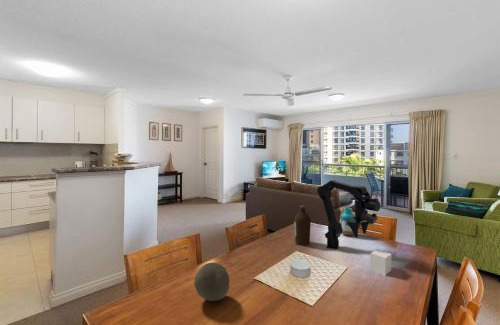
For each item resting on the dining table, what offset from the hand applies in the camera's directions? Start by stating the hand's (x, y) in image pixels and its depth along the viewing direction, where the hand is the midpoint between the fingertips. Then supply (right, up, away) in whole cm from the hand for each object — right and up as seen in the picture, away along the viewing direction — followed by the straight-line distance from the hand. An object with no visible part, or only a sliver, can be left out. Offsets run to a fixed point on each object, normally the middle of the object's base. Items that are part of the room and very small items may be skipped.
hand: (360, 235), depth 142 cm
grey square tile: (+16, -13, -4) cm, 21 cm away
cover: (+3, -14, -15) cm, 21 cm away
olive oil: (-29, -12, +23) cm, 39 cm away
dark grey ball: (-79, -16, -39) cm, 89 cm away
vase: (+7, -11, +38) cm, 40 cm away
